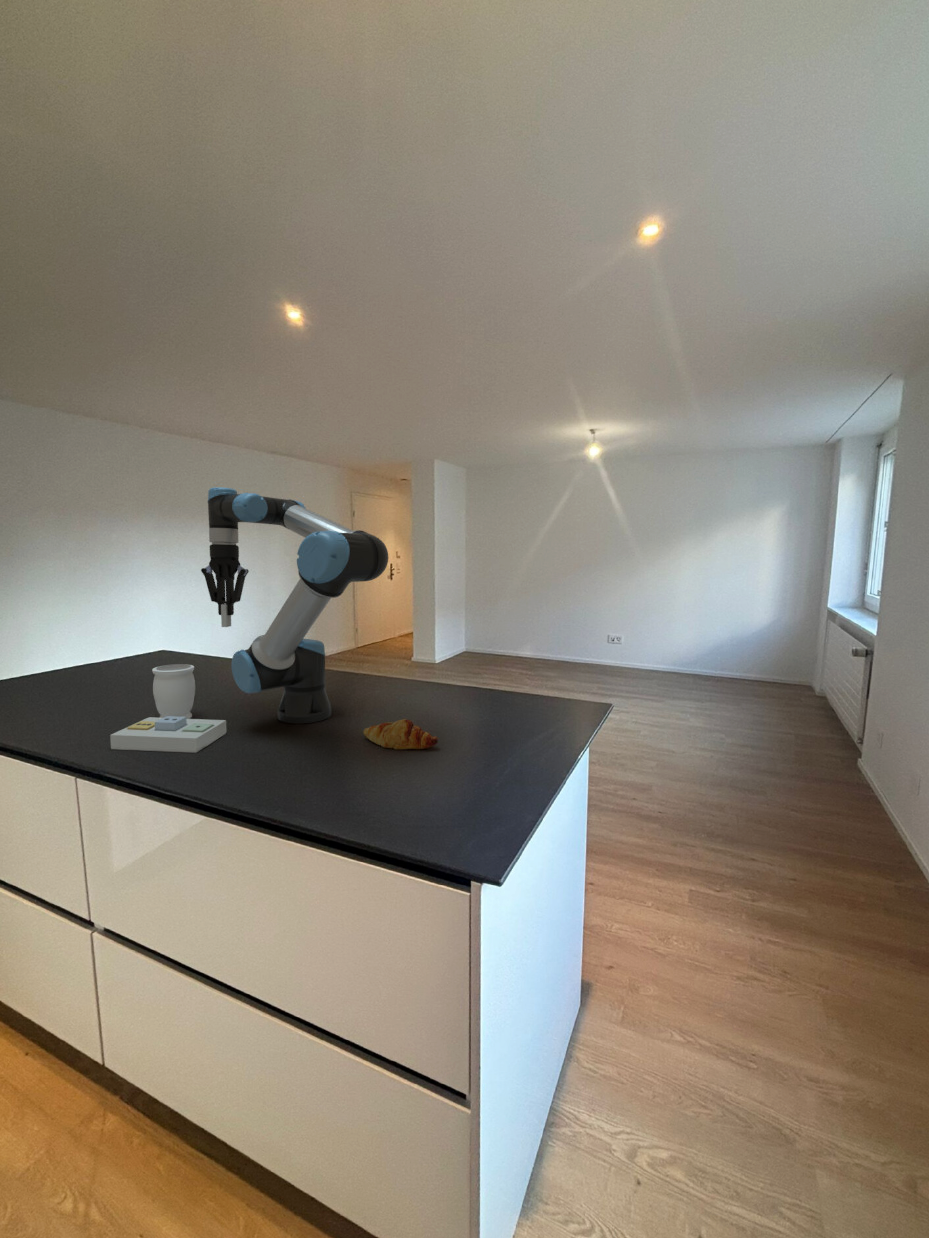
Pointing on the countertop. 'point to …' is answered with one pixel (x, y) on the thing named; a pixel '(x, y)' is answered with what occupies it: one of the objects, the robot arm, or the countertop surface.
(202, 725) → the tile one
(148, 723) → the tile three
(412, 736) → the croissant
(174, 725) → the tile two
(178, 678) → the jar
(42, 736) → the countertop surface
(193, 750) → the button board
